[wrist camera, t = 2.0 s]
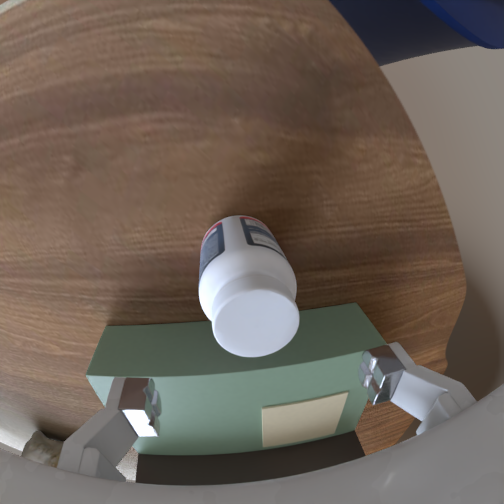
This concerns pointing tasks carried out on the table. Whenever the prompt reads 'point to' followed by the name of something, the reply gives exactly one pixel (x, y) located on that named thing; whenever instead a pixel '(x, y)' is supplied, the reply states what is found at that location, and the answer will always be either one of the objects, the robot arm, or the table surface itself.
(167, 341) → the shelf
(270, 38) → the table surface
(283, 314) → the pill bottle
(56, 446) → the ceramic sculpture
